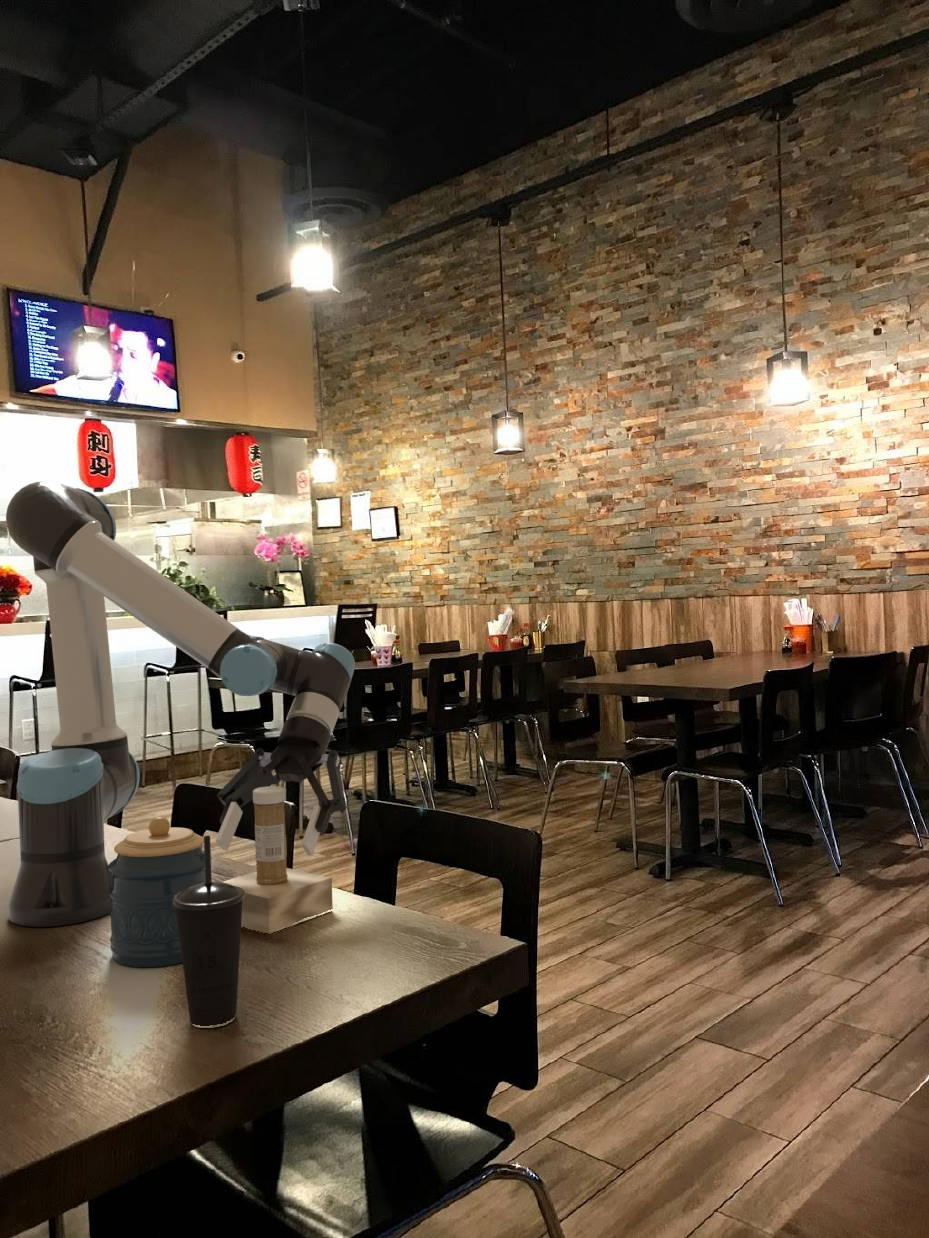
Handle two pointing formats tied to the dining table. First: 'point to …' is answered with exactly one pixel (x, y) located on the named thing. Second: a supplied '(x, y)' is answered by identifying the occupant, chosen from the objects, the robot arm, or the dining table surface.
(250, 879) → the maple block
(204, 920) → the drinking cup
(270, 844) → the sprinkles bottle
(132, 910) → the canister
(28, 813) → the robot arm
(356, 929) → the dining table surface
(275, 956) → the dining table surface
